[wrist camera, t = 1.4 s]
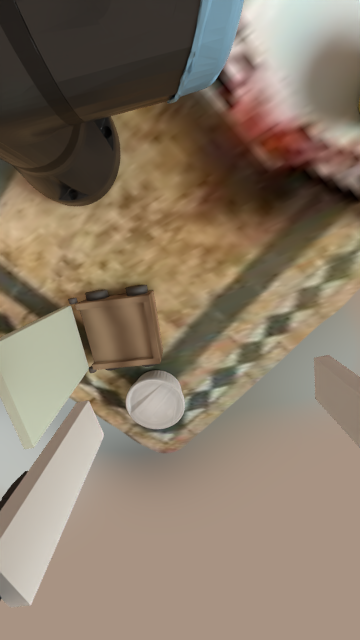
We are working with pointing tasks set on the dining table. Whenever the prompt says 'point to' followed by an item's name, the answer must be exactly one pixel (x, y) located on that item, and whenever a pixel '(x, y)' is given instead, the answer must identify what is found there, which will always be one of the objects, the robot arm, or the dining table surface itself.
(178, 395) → the ramekin
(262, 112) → the dining table surface
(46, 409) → the panel
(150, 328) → the flatbed cart
